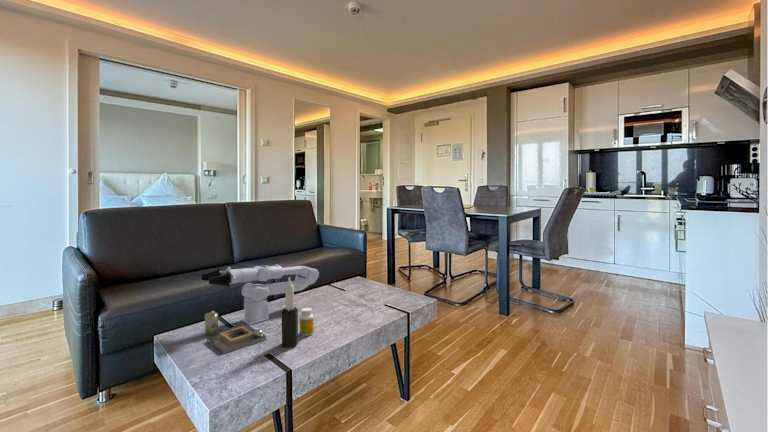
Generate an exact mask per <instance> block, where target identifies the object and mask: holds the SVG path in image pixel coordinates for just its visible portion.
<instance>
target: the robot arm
mask: <svg viewBox="0 0 768 432" xmlns="http://www.w3.org/2000/svg"><path fill="white" fill-rule="evenodd" d="M288 275H289V276H293V275H295V278H294V280H291V283H292V285H293V286H294V293H295V292H301V291H303V290H305V289H307V288H308V287H309V286H310V285H313V284H315V283H316V281H317V280H318V278H319V277H320V272H319V270H318V269H316V268H312V267H309V266H306V265H296V266H294V265H293V266H287V267H282V266H281V265H279V264H274V265H272V266H271V265H270V266H269V265H268V264H267V265H266V264H265V265H264V266H259V265H255V266H254V267H244V268H233V269H232V268H231V266H227V267H226V269H225V270H221V269H220V268H219V267H217V268H215V269H214V270H211V271H209V272H206V273H202V274H201V277H200V278H201V279H200V280H201V281H208V284H210V285H215V286H216V285H217V286H219V285H220V286H224V287H227V288H230V285H231V284H237V283H238V284H239V283H245V284H244V285H242V288H241V291H240V293H241V296H243V298H244V299H243V309H244V311H243V313H244V314H243V315H244V317H242V318H240V321H241V322H244V323H245V324H247V326H249V325H253V324H256V323H260V322H264V321H268V320H270V316H269V314H270V313H269V302H268V299H267V298H268V296H274V295H276V296H277V295H281V294H285V287H286V285H287V283H288V281H282V282H274V283H266V284H264V283H261V284H259V283H252V282H254V281H255V282H256V281H260V282H267V281H269V280H273V279H274V280H275V279H281V278H282V277H283V276H288Z"/></svg>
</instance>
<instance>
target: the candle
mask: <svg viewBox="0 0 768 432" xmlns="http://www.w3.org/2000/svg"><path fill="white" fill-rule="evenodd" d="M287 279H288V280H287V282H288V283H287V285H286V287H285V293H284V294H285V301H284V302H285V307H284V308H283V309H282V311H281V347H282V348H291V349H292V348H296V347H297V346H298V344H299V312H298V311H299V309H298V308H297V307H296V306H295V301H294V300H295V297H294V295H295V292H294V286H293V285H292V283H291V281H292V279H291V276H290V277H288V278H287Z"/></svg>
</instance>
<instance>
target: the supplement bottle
mask: <svg viewBox="0 0 768 432" xmlns="http://www.w3.org/2000/svg"><path fill="white" fill-rule="evenodd" d="M314 318H315V317H314V314H313V309H312V308H311V307H303V308H301V314H300V315H299V335H301V336H304V337H307V336H311V335H313V334H314V333H315V331H314V326H315V325H314V324H315V323H314V322H315V320H314Z"/></svg>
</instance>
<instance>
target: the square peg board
mask: <svg viewBox="0 0 768 432" xmlns="http://www.w3.org/2000/svg"><path fill="white" fill-rule="evenodd" d="M263 333H264V332H263V329H261V328H259V329H255V328H253V327H252V326H249V325H247V326H240V327H235V328H232V329H230V330H226V331H222V332H218V334H217V335H215V336H211V337H206V342H207V343H208V344H209V345H211V346H212V347H213V348H214V349H216V350H217V351H218V352H219V353H221V354H222V355H224V354H227V353H231V352H234V351H236V350H240V349H243V348H246V347H249V346H252V345H254V344H258V343H261V342H264V341H266V340H267V335H265V334H263Z"/></svg>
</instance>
